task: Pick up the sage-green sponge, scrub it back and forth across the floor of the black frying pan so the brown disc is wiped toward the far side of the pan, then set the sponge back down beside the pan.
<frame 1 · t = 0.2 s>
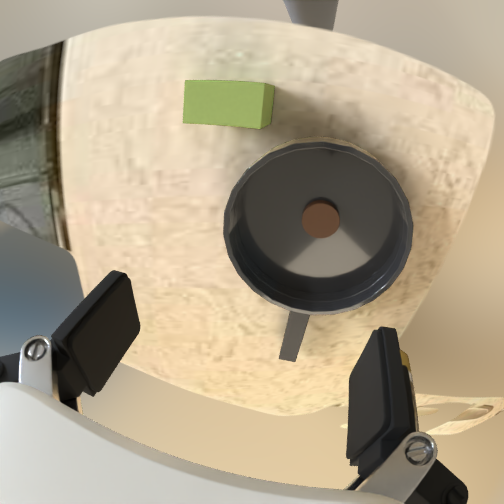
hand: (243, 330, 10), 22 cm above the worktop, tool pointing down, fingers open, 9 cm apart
pan: (319, 224, 31), on the worktop
sponge: (238, 101, 26), on the worktop
brown disc: (320, 217, 30), resting on pan
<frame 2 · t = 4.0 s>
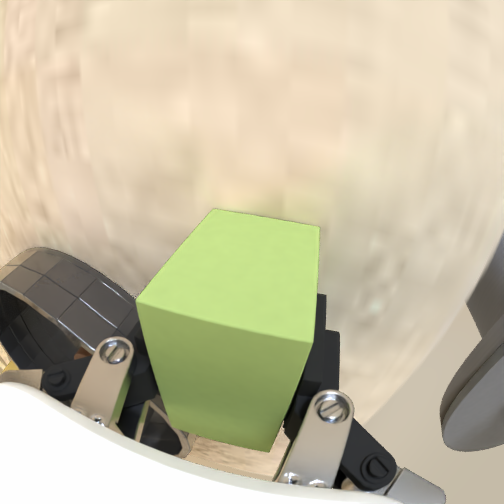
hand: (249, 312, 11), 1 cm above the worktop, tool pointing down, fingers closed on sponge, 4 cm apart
pan: (94, 354, 19), on the worktop
sponge: (256, 292, 12), on the worktop, touching gripper
brown disc: (100, 363, 19), resting on pan
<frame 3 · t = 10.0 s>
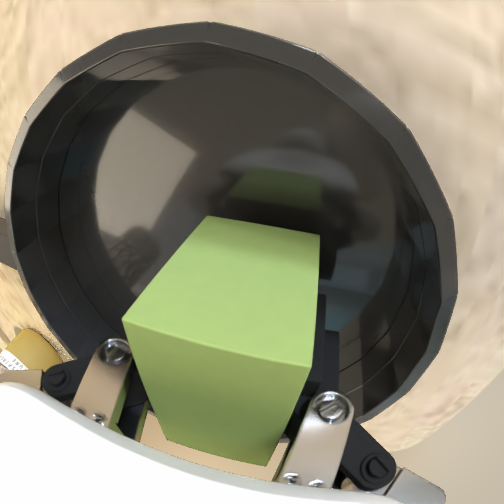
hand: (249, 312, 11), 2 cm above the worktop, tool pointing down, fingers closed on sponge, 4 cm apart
pan: (206, 268, 13), on the worktop
sponge: (253, 301, 12), point 2 cm above the worktop, touching gripper
paper tube: (46, 347, 25), on the worktop
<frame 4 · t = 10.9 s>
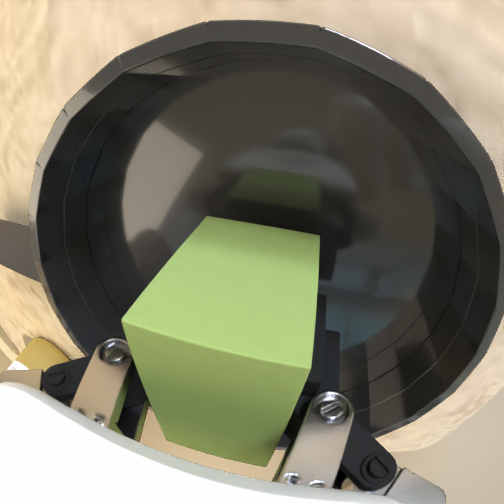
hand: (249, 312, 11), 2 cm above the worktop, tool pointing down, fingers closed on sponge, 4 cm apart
pan: (257, 280, 13), on the worktop
sponge: (253, 302, 12), point 1 cm above the worktop, touching brown disc, gripper
paper tube: (58, 356, 24), on the worktop
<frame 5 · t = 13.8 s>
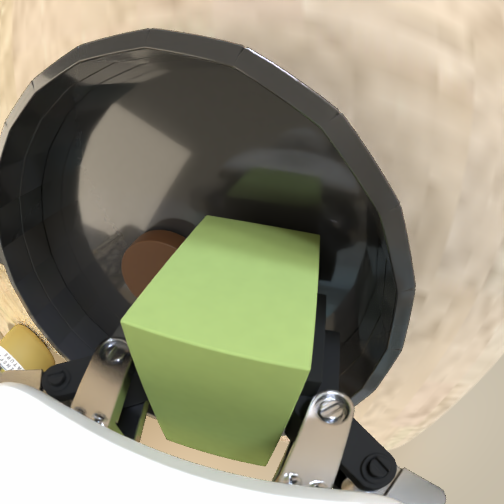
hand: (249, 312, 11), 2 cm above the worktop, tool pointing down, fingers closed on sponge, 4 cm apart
pan: (175, 263, 14), on the worktop
sponge: (253, 301, 12), point 1 cm above the worktop, touching gripper
brown disc: (168, 268, 13), point 1 cm above the worktop, touching pan
paper tube: (37, 343, 25), on the worktop
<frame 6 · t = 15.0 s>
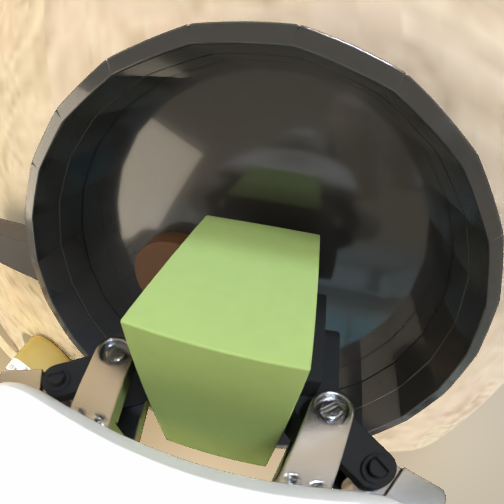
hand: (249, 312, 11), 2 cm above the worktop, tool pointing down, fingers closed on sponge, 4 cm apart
pan: (248, 277, 13), on the worktop
sponge: (253, 301, 12), point 2 cm above the worktop, touching gripper
brown disc: (182, 270, 13), resting on pan
paper tube: (57, 354, 24), on the worktop
when the fingers open (1 cm above the worktop, at t = 22.3 s): sponge stays where it is, on the worktop.
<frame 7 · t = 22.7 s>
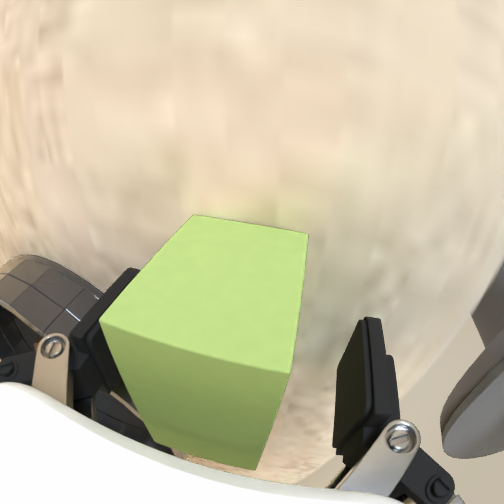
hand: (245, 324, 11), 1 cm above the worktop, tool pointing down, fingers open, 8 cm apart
pan: (86, 362, 18), on the worktop
sponge: (242, 302, 11), on the worktop
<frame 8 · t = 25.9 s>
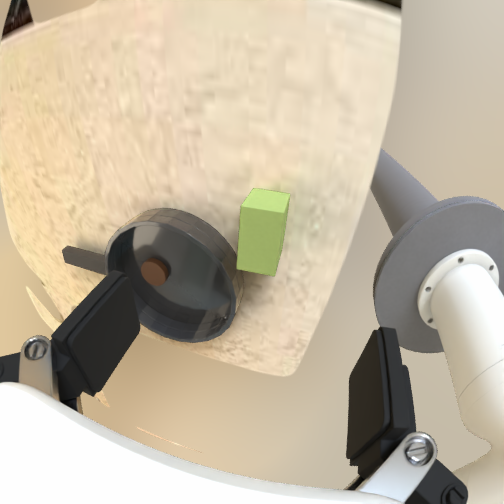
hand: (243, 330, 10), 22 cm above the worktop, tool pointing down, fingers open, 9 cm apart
pan: (176, 272, 39), on the worktop
sponge: (268, 220, 33), on the worktop
brown disc: (156, 270, 39), resting on pan
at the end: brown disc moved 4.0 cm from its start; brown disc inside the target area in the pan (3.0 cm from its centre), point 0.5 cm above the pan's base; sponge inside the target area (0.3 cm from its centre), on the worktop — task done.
